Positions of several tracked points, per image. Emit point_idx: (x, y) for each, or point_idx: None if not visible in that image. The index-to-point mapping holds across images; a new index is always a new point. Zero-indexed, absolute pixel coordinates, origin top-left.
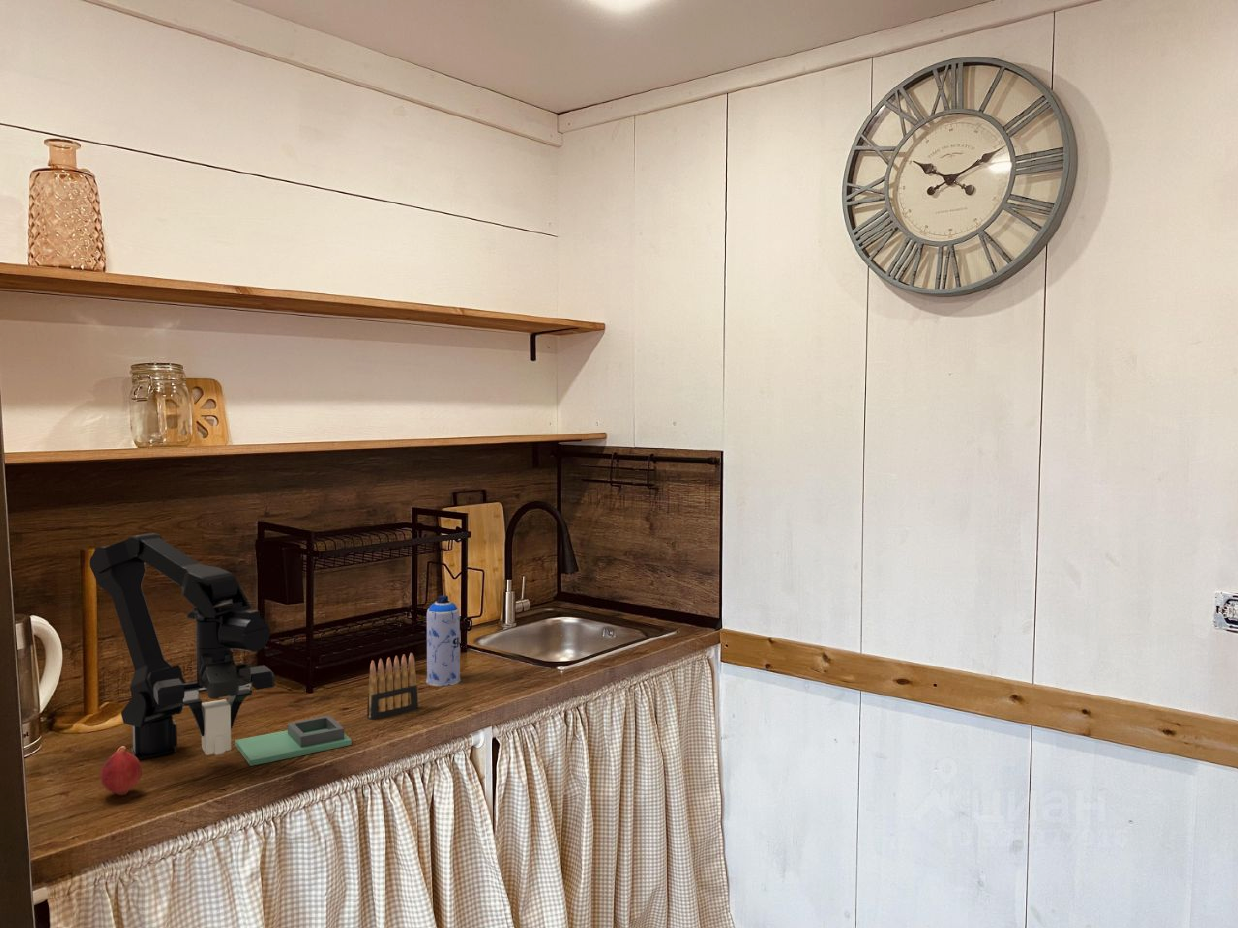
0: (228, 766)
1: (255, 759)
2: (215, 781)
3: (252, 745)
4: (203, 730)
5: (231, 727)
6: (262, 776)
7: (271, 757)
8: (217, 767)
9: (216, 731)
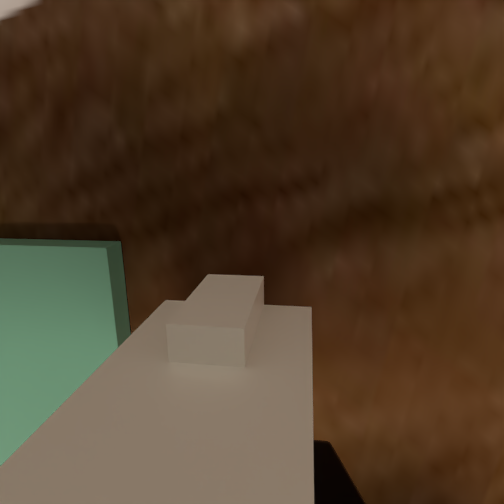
0: None
1: (84, 247)
2: (299, 132)
3: None
4: (322, 470)
5: None
6: (86, 64)
7: (19, 242)
8: None
9: (213, 391)
